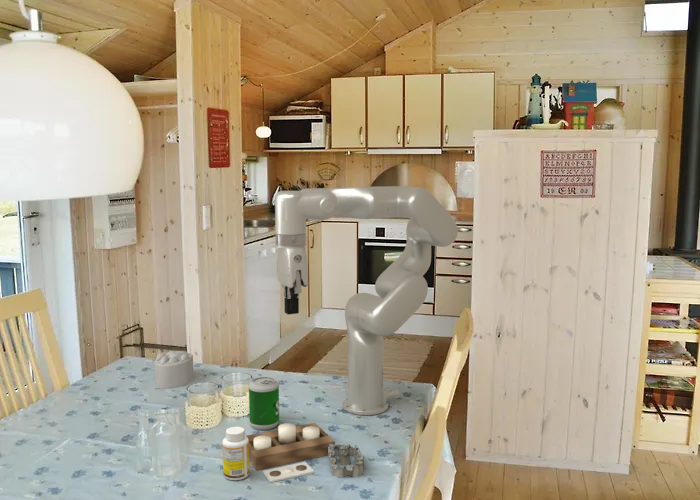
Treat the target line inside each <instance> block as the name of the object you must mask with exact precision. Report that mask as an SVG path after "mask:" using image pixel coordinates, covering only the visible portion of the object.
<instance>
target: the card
mask: <svg viewBox="0 0 700 500" xmlns="http://www.w3.org/2000/svg"><path fill="white" fill-rule="evenodd" d="M262 474H263V475H264V476H265V478H266V479H267V481H268V483H274V482H279V481H284V480H290V479H293V478H297V477H302V476H307V475H311V474H315V470H314V469H313V468H312V467H311V466H310V465H309V463H307V461H301V462H296V463H291V464H289V465H288V464H287V465H282V466H277V467H273V468H268V469H263V470H262Z"/></svg>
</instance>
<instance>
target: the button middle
mask: <svg viewBox="0 0 700 500" xmlns="http://www.w3.org/2000/svg"><path fill="white" fill-rule="evenodd" d="M296 426H297V425H296V424H294V423H290V422H287V423H286V422H285V423H281V424H279V425H278V427H277V428H278V429H277V430H278V438H279V443H280V444H283V445H285V444H290V443H295V442H296Z"/></svg>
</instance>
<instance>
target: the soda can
mask: <svg viewBox="0 0 700 500" xmlns="http://www.w3.org/2000/svg"><path fill="white" fill-rule="evenodd" d="M248 404H249V405H248V408H249V410H248V412H249V415H248V416H249V425H250V426H252V428H253V429H255V430H257V431H271V430H273V429H275V427H277V425H278V424H279V423H280V384H279V382H278V381H277V380H276V379H275V378H274V377H271V376H259V377H256V378H253V379H251V381H250V382H249V384H248Z"/></svg>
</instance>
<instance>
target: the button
mask: <svg viewBox="0 0 700 500" xmlns="http://www.w3.org/2000/svg"><path fill="white" fill-rule="evenodd" d="M315 438H320V430H319V428H318V427H313V426H310V427H305V428H303V439H304V440H310V439H315Z"/></svg>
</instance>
